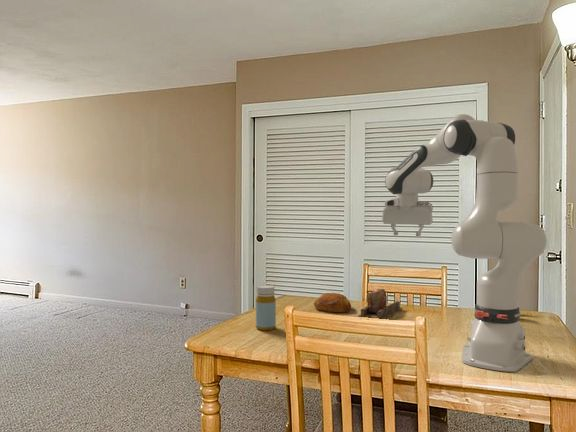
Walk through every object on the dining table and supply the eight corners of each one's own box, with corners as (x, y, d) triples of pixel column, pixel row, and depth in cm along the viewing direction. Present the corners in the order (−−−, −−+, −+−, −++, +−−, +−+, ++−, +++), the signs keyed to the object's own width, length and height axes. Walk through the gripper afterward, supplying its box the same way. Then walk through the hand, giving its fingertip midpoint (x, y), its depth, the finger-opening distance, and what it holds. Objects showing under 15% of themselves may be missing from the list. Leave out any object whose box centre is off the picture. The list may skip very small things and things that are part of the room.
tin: (373, 315, 180) (373, 293, 180) (365, 314, 182) (366, 292, 182) (387, 307, 193) (387, 287, 193) (380, 307, 195) (380, 286, 195)
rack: (382, 321, 175) (382, 312, 175) (358, 318, 180) (358, 309, 180) (402, 310, 194) (402, 301, 193) (379, 307, 199) (379, 299, 199)
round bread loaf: (341, 320, 186) (344, 301, 185) (308, 310, 194) (310, 291, 193) (357, 312, 198) (359, 294, 197) (325, 303, 206) (327, 285, 205)
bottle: (273, 331, 162) (272, 288, 161) (253, 330, 163) (253, 287, 163) (277, 326, 169) (277, 285, 168) (258, 325, 170) (258, 284, 170)
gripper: (434, 201, 188) (434, 235, 189) (386, 202, 199) (386, 234, 200) (430, 201, 183) (430, 236, 183) (380, 202, 194) (380, 235, 194)
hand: (406, 235), depth 192 cm, fingers open, 8 cm apart
